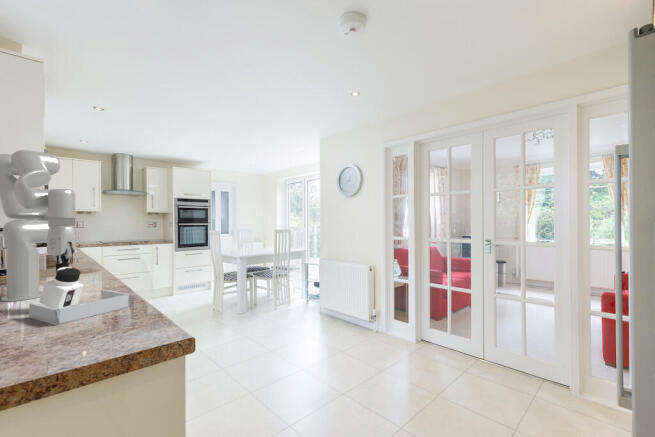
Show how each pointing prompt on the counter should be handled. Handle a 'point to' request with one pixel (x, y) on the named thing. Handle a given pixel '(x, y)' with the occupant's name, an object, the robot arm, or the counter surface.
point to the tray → (80, 308)
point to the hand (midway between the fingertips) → (62, 274)
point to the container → (62, 289)
